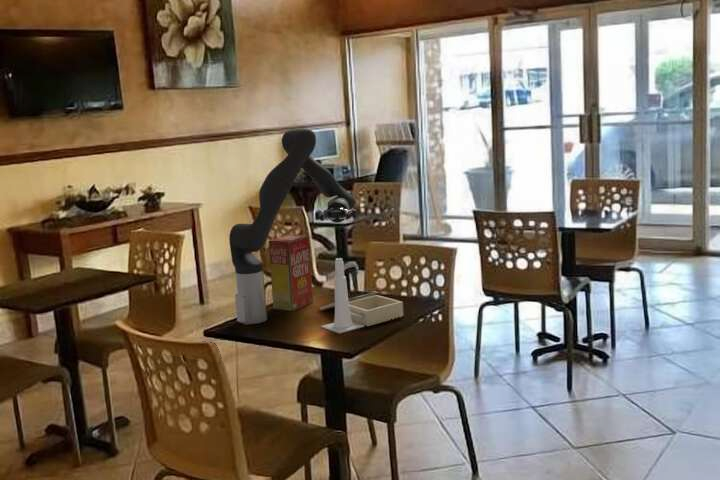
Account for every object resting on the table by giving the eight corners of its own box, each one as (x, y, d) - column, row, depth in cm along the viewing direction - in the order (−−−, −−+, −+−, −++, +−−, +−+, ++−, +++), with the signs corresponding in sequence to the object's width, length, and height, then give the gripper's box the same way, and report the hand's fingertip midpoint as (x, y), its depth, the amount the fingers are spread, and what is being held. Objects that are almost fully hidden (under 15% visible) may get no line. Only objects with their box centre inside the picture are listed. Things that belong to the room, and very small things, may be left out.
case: (365, 326, 249) (364, 309, 248) (338, 318, 261) (336, 301, 260) (403, 316, 259) (402, 299, 258) (375, 308, 271) (374, 291, 270)
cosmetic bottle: (348, 321, 255) (344, 256, 251) (355, 326, 249) (351, 259, 245) (331, 324, 253) (326, 258, 249) (338, 329, 247) (333, 261, 243)
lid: (319, 307, 272) (320, 309, 272) (339, 300, 261) (340, 303, 261) (352, 299, 280) (353, 301, 280) (373, 292, 270) (374, 294, 270)
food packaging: (293, 311, 273) (287, 241, 268) (271, 309, 278) (266, 240, 273) (314, 302, 284) (310, 234, 279) (293, 299, 289) (288, 233, 284)
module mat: (339, 333, 244) (339, 332, 244) (321, 327, 252) (321, 326, 252) (364, 326, 250) (364, 325, 250) (346, 320, 258) (346, 319, 258)
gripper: (317, 201, 279) (312, 207, 263) (357, 199, 278) (354, 205, 262) (319, 221, 280) (314, 229, 264) (358, 219, 279) (356, 227, 263)
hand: (334, 217), depth 263 cm, fingers open, 8 cm apart
